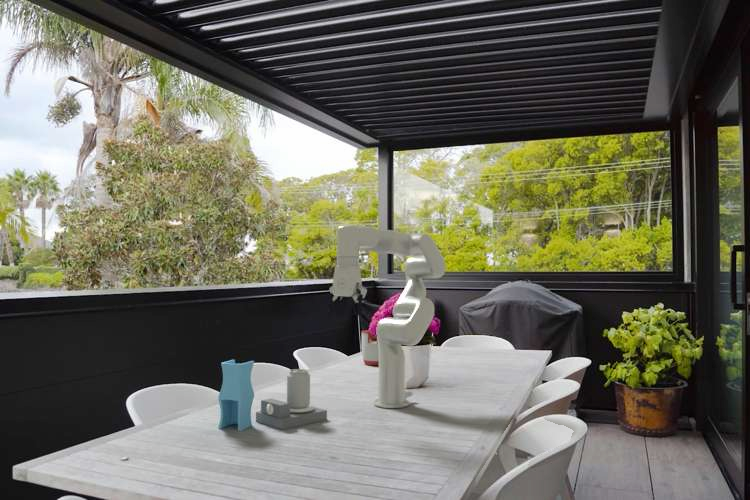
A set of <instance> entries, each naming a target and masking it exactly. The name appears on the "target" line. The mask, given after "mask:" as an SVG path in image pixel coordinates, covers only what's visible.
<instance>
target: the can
mask: <svg viewBox="0 0 750 500" xmlns="http://www.w3.org/2000/svg"><path fill="white" fill-rule="evenodd" d="M286 402H287V403H290V408H292V409H303V408H306V407H307V406H308V405H309V404H311V374H310V373H309V370H308V369H306V368H305V369H303V368H295V369H294V368H293V369H289V370H288V373H287V376H286Z"/></svg>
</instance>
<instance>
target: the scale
mask: <svg viewBox="0 0 750 500" xmlns="http://www.w3.org/2000/svg"><path fill="white" fill-rule="evenodd" d="M327 420H328V410H327V409H324V408H320V407H316V406H315V405H314V404H311V403H310V404H309V405H308V406H307V407H306V408H303V409H292V408H290V403H287V401H284V400H283V401H282V400H279V399H274V398H267V399H261V400H260V411H259V410H258V411H255V422H256V423H260V424H263V425H266V426H270V427H272V428H275V429H279V430H287V429H291V428H295V427H300V426H304V425H305V426H306V425H308V424H309V425H310V424H313V423H318V422H322V421H327Z"/></svg>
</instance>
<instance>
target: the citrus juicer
mask: <svg viewBox="0 0 750 500" xmlns="http://www.w3.org/2000/svg"><path fill="white" fill-rule="evenodd" d="M369 330H370V329H367V330H365V329H364V330H361V331H360V332H361V355H362V360H363V363H364V364H365V365H366V366H379V348H378V340H377V337H376V336H373V335H372V334H371V333H370V331H369Z"/></svg>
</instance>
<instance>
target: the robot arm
mask: <svg viewBox="0 0 750 500" xmlns="http://www.w3.org/2000/svg"><path fill="white" fill-rule="evenodd" d="M360 251H363V252H365V251H366V252H374V253H378V254H379V253H380V254H390V255H391V254H392V255H397V256H405V257H408V258H407V259H406V261H405V264H404V268H403V269H404V275H405V279H406V280H405V288H404V289H403V291H402V292H401V294H400V296H399V297H398V299H397V300H396V302H395V303H394V305H393V309H392V316H393V317H389V316H387V317H384V318H381V319H380V320H379V321H378V322H377V325H376V326H377V327H376V335H377V340H378V348H379V365H378V398H377V399H375V400H374V403H373V404H374V405H375V406H376V407H379V408H383V409H401V408H406V407H408V406H409V404H410V401H409V400H407V398H410V397H413V395H414V393H413V391H412V390H410V391H407V390H406V387H405V382H406V381H405V380H406V379H405V374H406V372H405V369H406V355H405V351H404V349H403V346H407V347H409V346H411V347H413V346H416V345H417V344H418V343H420V341H421V340H422V339H423V337H424V335H425V334H426V332H427V330H428V328H429V327H430V325H431V323H432V321H433V320H434V316H435V305H434V303H433V301H432V300H431V299H430V298H428V297H426V296H427V289H426V286H425V284H424V281H423V279H439V278H441V277H443V276H444V275H445V273H446V270H447V266H446V261H445V259H444V257H443V254H442V253H441V251H440V249H439V248H438V245H437V244H436V242H435V241H434V239H433V238H432V237H431V235H429V234H427V233H426V232H425V233H424V232H423V233H422V232H421V233H420V232H419V233H407V232H401V231H396V230H391V229H379V230H378V229H377V228H375V227H374V226H366V225H365V226H357V225H340V226H338V228H337V229H336V260H335V261H336V266H335V267H334V272H333V277H332V285H331V286H330V287H329V289H328V290H329V292H330V297H331V299H332V302H333V314H342V312H343V310H342V309H343V300H342V298H343V297H346V298H347V297H349V298H350V297H352V299H353V301H354V302H353V312H352V314H353V315H354V316H357V315H358V316H360V315H362V314H363V313H362V311H363V309H362V307H363V302H364V300H365V298H366V295H367V292H368V289H367V288H366V287H364V286H363V285H362V283H363V282H362V281H363V280H362V273H361V267H360Z"/></svg>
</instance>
